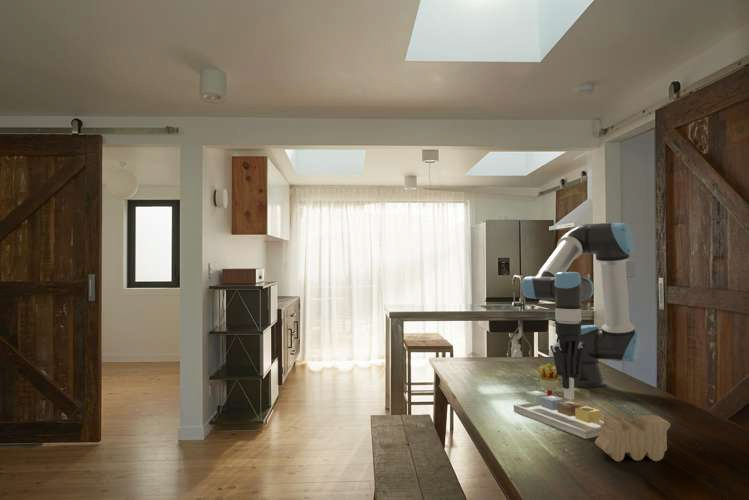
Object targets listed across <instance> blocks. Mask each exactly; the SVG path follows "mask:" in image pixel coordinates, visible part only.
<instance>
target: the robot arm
mask: <svg viewBox="0 0 749 500" xmlns="http://www.w3.org/2000/svg"><path fill="white" fill-rule="evenodd" d="M634 239H635V238H634V235H633V232H632V229H631V227H630V226H629V224H627V223H625V222H603V223H602V222H601V223H585V224H581V225H578V226H576V227H574V228H572V229H570V230H569V231H567V232H566V233H564V234H563V235H562V236H561V237H560V238H559V240H558V241H557V244H556V248H555V249H554V250H553V252H552V254H551V255H550V256H549V257H548V258H547V260H546V262H545V263H543V265H542V266H541V267H540V269H539V271H537V274H535V276H533V275H530V276H525V277H524V278H523V279H522V282H521V289H522V294H523V296H524V297H525V298H528V299H535V300H538V299H539V300H554V301H555V302H554V307H555V309H554V310H555V311H554V313H555V318H554V319H555V321H556V322H555V324H554V325H555V329H554V330H555V332H554V333H555V334H556V335H557V337H556V343H555V344H553V345H550V347H549V349H550V351H551V352H552V354H553V360H554V361H553V362H554V366H556V368H555V369H556V372H557V375H558V377H561V378H562V388H563V399H567V400H568V401H573V400H575V387H579V388H600V387H603V386H604V385H605V381H604V379H605V378H604V377H603V374H602V371H601V367H600V361H599V360H603V361H604V360H606V361H614V362H621V363H634V362H635V361H636V360H637V359H638V357H639V353H640V349H641V339H642V337H641V332H638V331H636V330H635V329H636V328H635V325H633V324H632V323H631V321H630V308H629V306H630V305H629V295H628V280H627V277H628V276H627V265H626V263H627V261H629V259H630V258H631V257H630V255H632V254H633V253H634V251H635V240H634ZM582 255H595V261H597V262H598V263H599V264H600V272H601V284H602V295H603V297H602V298H603V307H604V324H603V325H601V329H600V327H599V325H597V324H583V325H582V324H581V322H582V301H583V302H584V301H587V300H588V299H590V298H591V297H592V296H593V295H594V293H595V285H594V283H593V281H592V280H591V279H590V278H587V277H584V276H581V273H580V272H577V271H568V269H569V268H570V266H571V265H572V263H573V261H574V260H575V259H577V258H579V257H580V256H582Z"/></svg>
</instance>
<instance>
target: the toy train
mask: <svg viewBox="0 0 749 500" xmlns="http://www.w3.org/2000/svg"><path fill="white" fill-rule="evenodd" d="M603 421H604V424H601V428H600V435H599V436H597V438H596V439H595V441H594V444H595V445H596V446H597V447H599V448H600V450H602V451H603V452H604V453H605V454H607V455H608V456H609V457H610V458H611V459H613V460H614V461H616V462H622V461H623V460H624V458H625V455H626V456H628V457H630V458H631V459H633V460H634V461H642V460H643V459H644V458H645V457H646V458H649V459H650V460H652V461H654V462H658V461H659V462H660V461H661V460H662V459H664V456H665V452H666V451H667V450H668V441H667V440H668V436H667V435H668V434H667V432H668V430H669V429H670V428H671V426H672V424H671V422H669V421H668V420H666V419H664V418H662V417H660V416H659V415H656V414H653V415H652V414H651V415H650V414H649V415H647V414H645V415H643V414H642V415H641V414H639V415H638V414H637V415H635V416H634V423H630V422H629V421H627V420H625V419H623V418H622V419H620V420H618V419H616V418H614V417H613V416H611V415H609V414H608V415H603Z"/></svg>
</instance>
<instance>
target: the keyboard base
mask: <svg viewBox="0 0 749 500" xmlns="http://www.w3.org/2000/svg"><path fill="white" fill-rule="evenodd" d="M513 411H514V412H515V413H517V414H521V415H524V416H525V417H528V418H531V419H533V420H536V421H539V422H541V423H544V424H547V425H549V426H552V427H554V428H557V429H560V430H562V431H564V432H567V433H570V434H572V435H575V436H576V437H577V436H578V437H580V438H582V439H585V440H586V439H591V438H595V437H598V436H599V435H600V428H601V424H604V420H601V419H600V421H596V422H591V423H587V422H584V421H581V420H578V419H575V416H567V415H564V414H561V413H558V410H550V409H547V408H544V407H541V404H538V405H536V404H533V403H530V402H522V403H517V404H516V403H515V404H513Z"/></svg>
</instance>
